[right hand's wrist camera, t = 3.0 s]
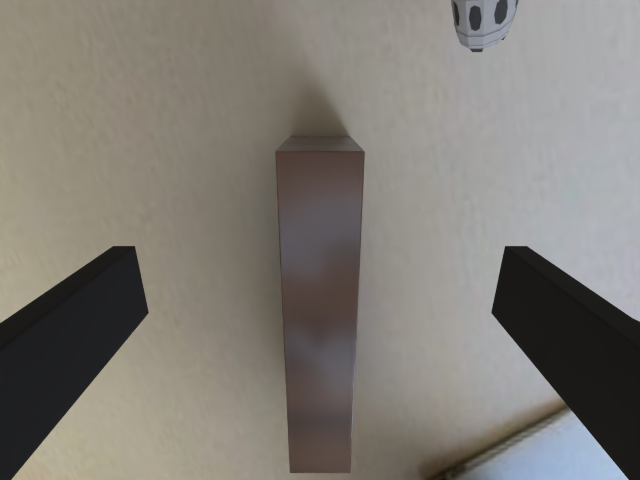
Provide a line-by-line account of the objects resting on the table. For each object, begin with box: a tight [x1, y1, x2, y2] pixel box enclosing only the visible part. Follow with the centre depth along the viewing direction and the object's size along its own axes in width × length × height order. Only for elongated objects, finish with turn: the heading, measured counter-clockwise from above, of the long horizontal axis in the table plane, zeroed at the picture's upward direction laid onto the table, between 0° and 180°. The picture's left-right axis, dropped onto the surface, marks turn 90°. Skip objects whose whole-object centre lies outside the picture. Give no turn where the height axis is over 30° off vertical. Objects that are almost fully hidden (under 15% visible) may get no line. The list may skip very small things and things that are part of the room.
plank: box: [276, 136, 365, 473], centre depth 29 cm, size 26×5×10 cm, turn 0°
